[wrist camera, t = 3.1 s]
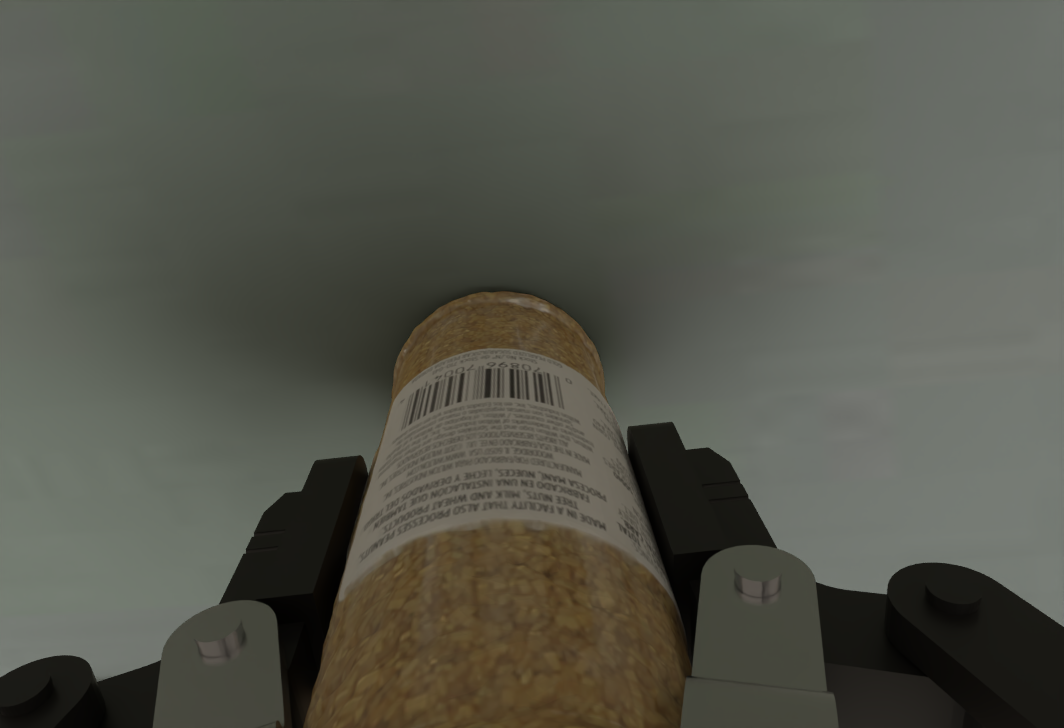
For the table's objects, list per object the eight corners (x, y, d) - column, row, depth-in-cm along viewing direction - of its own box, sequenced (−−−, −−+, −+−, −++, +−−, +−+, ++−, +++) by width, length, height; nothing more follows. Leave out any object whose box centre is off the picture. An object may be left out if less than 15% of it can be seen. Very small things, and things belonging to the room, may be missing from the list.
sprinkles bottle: (384, 461, 18) (122, 1472, 5) (407, 266, 16) (100, 1074, 4) (584, 486, 18) (779, 1467, 6) (627, 300, 16) (1036, 1115, 4)
